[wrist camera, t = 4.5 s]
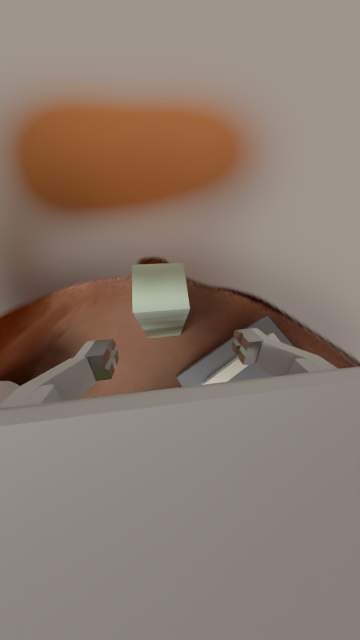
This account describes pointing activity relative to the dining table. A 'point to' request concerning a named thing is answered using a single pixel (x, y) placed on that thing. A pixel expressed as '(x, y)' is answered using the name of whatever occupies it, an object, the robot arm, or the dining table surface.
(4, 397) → the white cup
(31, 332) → the dining table surface
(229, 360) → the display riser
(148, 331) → the green block
